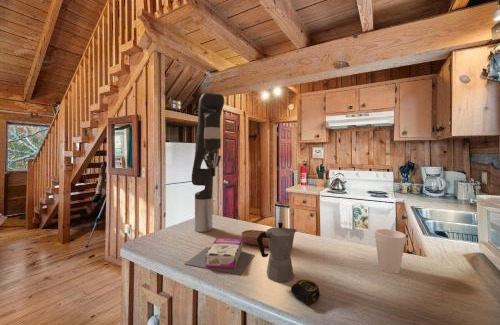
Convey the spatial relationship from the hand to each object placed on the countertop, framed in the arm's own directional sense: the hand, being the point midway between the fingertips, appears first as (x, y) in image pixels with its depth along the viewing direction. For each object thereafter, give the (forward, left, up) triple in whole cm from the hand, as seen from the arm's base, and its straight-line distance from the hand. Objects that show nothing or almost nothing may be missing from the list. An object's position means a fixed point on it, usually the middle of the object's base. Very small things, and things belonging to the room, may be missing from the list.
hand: (212, 176), depth 103 cm
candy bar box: (+4, +10, -28) cm, 30 cm away
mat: (+14, +11, -31) cm, 36 cm away
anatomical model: (-6, +24, -31) cm, 40 cm away
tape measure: (+27, +44, -31) cm, 61 cm away
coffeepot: (+18, +34, -31) cm, 49 cm away
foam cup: (0, +71, -31) cm, 78 cm away
